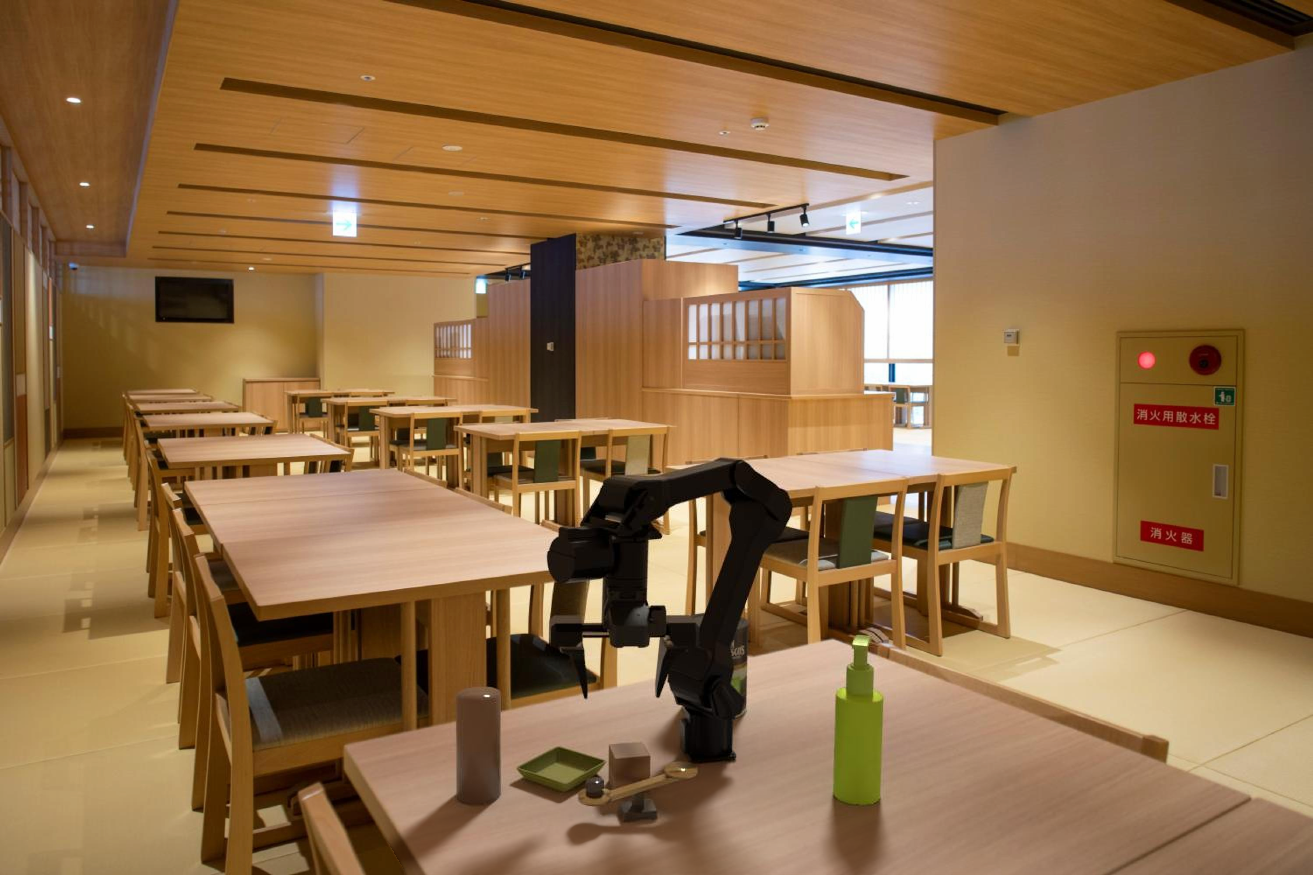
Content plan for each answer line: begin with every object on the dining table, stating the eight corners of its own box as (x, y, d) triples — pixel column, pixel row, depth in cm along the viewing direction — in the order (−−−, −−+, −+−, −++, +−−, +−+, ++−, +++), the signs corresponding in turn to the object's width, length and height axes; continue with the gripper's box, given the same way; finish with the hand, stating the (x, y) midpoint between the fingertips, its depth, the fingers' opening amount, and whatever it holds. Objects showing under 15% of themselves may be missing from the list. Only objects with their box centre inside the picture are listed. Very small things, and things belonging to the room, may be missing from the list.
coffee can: (757, 716, 147) (759, 627, 145) (694, 723, 144) (695, 632, 142) (733, 694, 156) (735, 609, 155) (673, 699, 153) (674, 614, 152)
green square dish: (514, 782, 124) (514, 766, 124) (557, 759, 131) (557, 744, 131) (565, 800, 119) (565, 784, 119) (608, 775, 126) (608, 760, 126)
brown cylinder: (499, 783, 123) (499, 685, 122) (502, 802, 118) (502, 700, 116) (455, 787, 122) (455, 688, 121) (457, 806, 116) (456, 703, 115)
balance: (691, 800, 119) (692, 759, 118) (700, 815, 115) (701, 773, 114) (575, 812, 115) (575, 770, 115) (580, 828, 111) (581, 785, 111)
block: (642, 778, 125) (642, 741, 125) (650, 793, 121) (650, 755, 120) (608, 781, 124) (608, 744, 123) (615, 796, 120) (615, 758, 119)
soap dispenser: (883, 784, 123) (888, 634, 122) (877, 808, 117) (882, 649, 115) (837, 777, 125) (841, 629, 124) (829, 800, 119) (833, 644, 117)
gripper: (553, 587, 111) (550, 719, 112) (710, 588, 114) (705, 716, 115) (550, 571, 122) (547, 691, 123) (693, 571, 125) (689, 689, 126)
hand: (621, 697), depth 121 cm, fingers open, 9 cm apart
